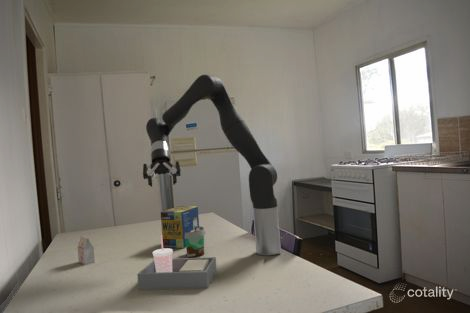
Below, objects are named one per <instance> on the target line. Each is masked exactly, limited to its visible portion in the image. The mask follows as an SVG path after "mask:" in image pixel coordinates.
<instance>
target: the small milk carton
mask: <svg viewBox="0 0 470 313" xmlns="http://www.w3.org/2000/svg"><path fill="white" fill-rule="evenodd" d="M77 254H78V255H77V256H78V257H77V258H78V262H79V263H80V264H82V265H84V266H87V265H92V264H95V263H96V261H95V248H94V245H92V242H91V241H90V239H89V238H88V237H87V236H84V235H83V236H82V235H81V236H80V240H79V242H78V245H77Z"/></svg>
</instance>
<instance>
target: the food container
mask: <svg viewBox="0 0 470 313" xmlns="http://www.w3.org/2000/svg"><path fill="white" fill-rule="evenodd" d="M206 233H207V232H206V229H205V227H203V226H201V225H199V226H194V229H193V230H190V231H189V233H185V240H186V247H185V248H186V256H187V257H186V258H201V257H202V256H204V255H205V236H206Z"/></svg>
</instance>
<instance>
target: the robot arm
mask: <svg viewBox="0 0 470 313" xmlns="http://www.w3.org/2000/svg"><path fill="white" fill-rule="evenodd" d="M203 99H209V100H210V101H211V102H212V103H213V105H214V107H215V108H216V110H217V112H218V116H219V121H220V122H219V124H220V126H221V130H222V132H223V133H224V135H225V137H226V139H227V140H228V142H229V143H230V145H231V146H232V147H233V148H234V149H235V151H237V152H238V153H239V154H240V155H241V157H243V159H245V161H246V163H247V164H248V166H249V167H250V171H249V174H248V188H249V196H250V197H249V199H250V201H251V203H252V212H253V227H254V240H255V254H258V255H260V256H274V255H279V254H282V252H281V250H282V249H281V235H280V234H281V233H280V223H279V213H278V200H277V198H276V197H275V194H274V193H275V192H274V185H276V183H277V181H278V173H277V170H276V168H275V167H274V165H272V163H271V162H270V160H269V159H268V158H267V157H266V155H265V154H264V152H263V151H262V150H261V147H260V146H259V144H258V142H257V140H256V139H255V137H254V135H253V133H252V132H251V130H250V128H249V127H248V125H247V123H246V122H245V120H244V119H243V117H242V115H241V114H240V113H239V111H238V109H237V107H236V106H235V104H234V103H233V101H232V100H231V97H230V96H229V93H228V91H227V89H226V87H225V85H224V83H223V81H222V80H221V79H220V78H219V77H217V76H215V75H211V74H201V75H200V76H198V77H197V78H196V79H195V80H194V81H193V82H192V84H191V85H190V87H188V88H187V89H186V91H185V92H184V94H183V95H182V96H181V97H180V98H179V99H178V100H177V101H176V102H175V103H174V104H173V105H172V106H170V107H169V108H168V109H167V110H166V111H164V113H163V114H162V120H161V119H158V118H156V117H152V118H150V119H149V120H148V121H147V122H146V126H145V130H146V133H147V136H148V138H149V140H150V147H151V148H150V160H151V161H150V162H151V163H150V164H147V163H143V164H142V166H143V167H142V169H143V170H142V177H143V179H144V180H147V182H148V184H147V185H148V186H150V188H151V187H153V178H155V177H156V176H157V175H166V174H167V175H169V176H170V177H172V182H173V184H172V185H175V186H176V184H177V183H178V181H177V180H178V179H177V177H181V166H180V163H179V161H177V160H176V161H175V162H172V161H171V152H170V148H169V140H168V136H169V135H170V133H171V132H172V131H173V129H174V128H175V126H176V125H177V124H178V123H180V122H181V121H182V120H183V119H185V118H186V117H187V115H188V114H189V112H190V110H191V109H192V107H193V106H194V105H195V104H197V102H200V101H201V100H203ZM173 168H174V169H175V170H176V171H175V170H174V169H173ZM149 170H150V171H149ZM148 171H149V172H148Z"/></svg>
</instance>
